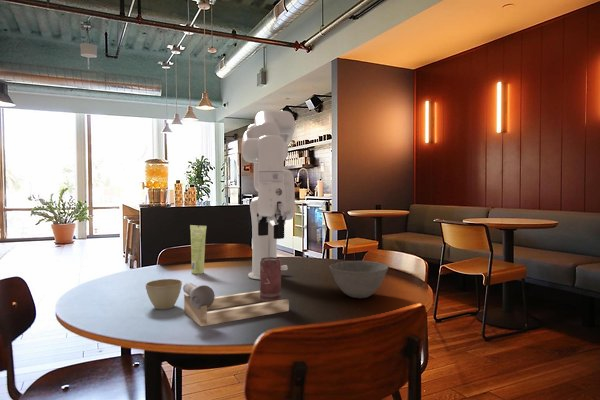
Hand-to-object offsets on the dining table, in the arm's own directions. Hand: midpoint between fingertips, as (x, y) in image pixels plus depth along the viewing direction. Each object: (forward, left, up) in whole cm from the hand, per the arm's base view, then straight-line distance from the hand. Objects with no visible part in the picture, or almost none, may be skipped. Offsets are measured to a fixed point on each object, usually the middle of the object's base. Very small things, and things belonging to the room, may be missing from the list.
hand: (270, 237), depth 120 cm
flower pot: (+27, -15, -21) cm, 37 cm away
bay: (+12, +1, -20) cm, 23 cm away
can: (0, 0, -21) cm, 21 cm away
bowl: (-29, +5, -21) cm, 36 cm away
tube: (+3, -57, -21) cm, 61 cm away
